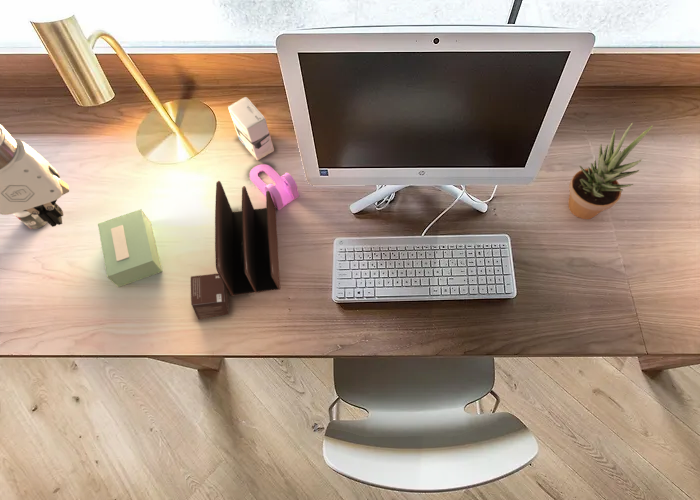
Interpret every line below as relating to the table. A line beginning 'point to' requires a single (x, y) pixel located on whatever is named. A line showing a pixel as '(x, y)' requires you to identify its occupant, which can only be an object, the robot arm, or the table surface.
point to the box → (209, 296)
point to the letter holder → (246, 245)
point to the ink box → (251, 128)
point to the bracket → (281, 191)
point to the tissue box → (129, 248)
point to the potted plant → (601, 180)
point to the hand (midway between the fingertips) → (56, 218)
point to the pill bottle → (30, 219)
